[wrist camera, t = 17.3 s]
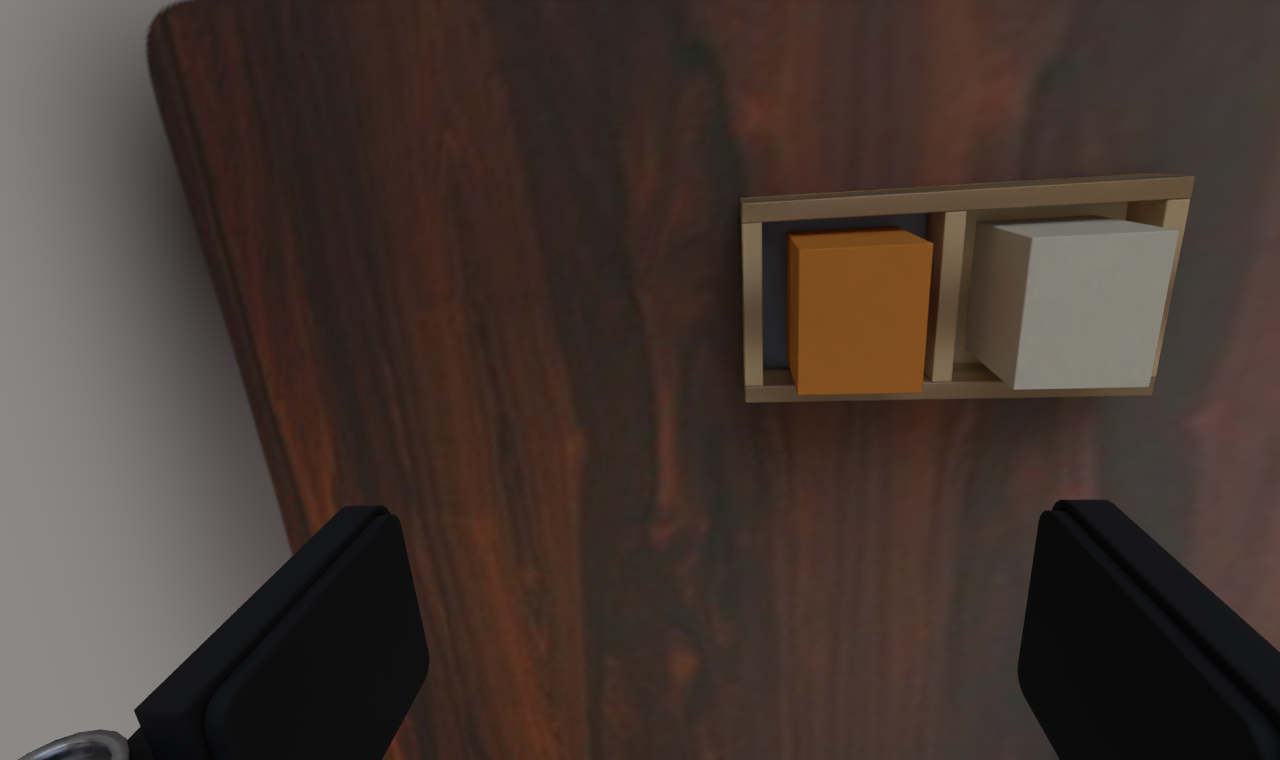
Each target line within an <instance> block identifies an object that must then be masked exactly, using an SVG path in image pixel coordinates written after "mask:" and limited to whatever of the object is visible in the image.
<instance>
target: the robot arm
mask: <svg viewBox="0 0 1280 760" xmlns="http://www.w3.org/2000/svg"><path fill="white" fill-rule="evenodd" d="M428 668H429V652H428V648H427V643H426V638H425V634H424V629H423V625H422V620H421V615H420V611H419V606H418V601H417V597H416V592H415V588H414V583H413V578H412V574H411V569H410V564H409V560H408V555H407V551H406V546H405V541H404V537H403V532H402V528H401V524H400V521H399V519H398V517H397V516H395V515H390V512H389V511H388V510H387V508H386V507H384V506H345V507H344V508H342V509H341V510H340V511H339V512H338V513H337V514H336V515H335V516H334V517H333V518H332V519H331V520H330V521H329V522H327V523H326V524H325V525H324V526H323V527H322V528H321V529H320V530H319V531H318V532H317V533H316V534H315V535H314V536H313V537H312V538H311V539H310V540H309V541H308V542H307V543H306V544H305V545H304V546H303V547H302V548H301V549H300V550H299V551H298V552H297V553H296V554H295V555H293V556H292V557H291V558H290V559H289V560H288V561H287V562H286V563H285V564H284V565H283V566H282V567H281V568H280V569H279V570H278V571H277V572H276V573H275V574H274V575H273V576H272V577H271V578H270V579H269V580H268V581H267V582H266V583H265V584H264V585H263V586H262V587H260V589H258V590H257V591H256V592H255V593H254V594H253V595H252V596H251V597H250V598H249V599H248V600H247V601H246V602H245V603H244V604H243V605H242V606H241V607H240V608H239V609H238V610H237V611H236V612H235V613H234V614H233V615H232V616H231V617H230V618H229V619H228V620H226V622H225V623H223V624H222V625H221V626H220V627H219V628H218V629H217V630H216V631H215V632H214V633H213V634H212V635H211V636H210V637H209V638H208V639H207V640H206V641H205V642H204V643H203V644H202V645H201V646H200V647H199V648H198V649H197V650H196V651H195V652H193V653H192V654H191V655H190V656H189V658H187V659H186V660H185V661H184V662H183V663H182V664H181V665H180V666H179V667H178V668H177V669H176V670H175V671H174V672H173V673H172V674H171V675H170V676H169V677H168V678H167V679H166V680H165V681H164V682H163V683H162V684H161V685H159V687H157V688H156V689H155V690H154V691H153V692H152V693H151V694H150V695H149V696H148V697H147V698H146V699H145V700H144V701H143V702H142V703H141V704H140V705H139V706H138V707H137V708H136V709H135V710H134V711H135V714H136V716H137V719H138V721H139V724H140V726H141V727H140V728H139V729H138V730H137V731H136V732H135V733H134V734H133V735H132V736H131V737H130V738H129V739H128V740H127V739H126V738H125V737H123V736H122V735H120V734H119V733H118V732H115V731H108V730H94V731H87V732H80V733H76V734H74V735H70V736H68V737H64V738H61V739H58V740H55V741H53V742H51V743H49V744H47V745H44V746H42V747H40V748H38V749H36V750H34V751H32V752H30V753H28V754H26V755H25V756H23V757H22V758H20V759H18V760H382V758H383V757H384V755H385V753H386V751H387V749H388V747H389V746H390V744H391V742H392V740H393V738H394V736H395V734H396V733H397V731H398V729H399V727H400V725H401V723H402V722H403V720H404V718H405V716H406V714H407V712H408V711H409V709H410V707H411V705H412V703H413V701H414V699H415V698H416V696H417V694H418V692H419V690H420V688H421V687H422V685H423V683H424V681H425V679H426V676H427V673H428ZM1018 678H1019V683H1020V687H1021V690H1022V693H1023V695H1024V697H1025V699H1026V701H1027V702H1028V704H1029V706H1030V708H1031V709H1032V711H1033V713H1034V715H1035V716H1036V718H1037V720H1038V722H1039V724H1040V725H1041V727H1042V729H1043V731H1044V732H1045V734H1046V736H1047V738H1048V739H1049V741H1050V743H1051V745H1052V747H1053V748H1054V750H1055V752H1056V754H1057V755H1058V757H1059V759H1060V760H1280V652H1279V651H1278V650H1277V649H1275V648H1274V647H1273V646H1272V645H1271V644H1270V643H1269V642H1268V641H1266V640H1265V639H1264V638H1263V637H1262V636H1261V635H1260V634H1259V633H1257V632H1256V631H1255V630H1254V629H1253V628H1252V627H1251V626H1250V625H1249V624H1247V623H1246V622H1245V621H1244V620H1243V619H1242V618H1241V617H1240V616H1238V615H1237V614H1236V613H1235V612H1234V611H1233V610H1232V609H1231V608H1229V607H1228V606H1227V605H1226V604H1225V603H1224V602H1223V601H1222V600H1221V599H1219V598H1218V597H1217V596H1216V595H1215V594H1214V593H1213V592H1212V591H1210V590H1209V589H1208V588H1207V587H1206V586H1205V585H1204V584H1203V583H1201V582H1200V581H1199V580H1198V579H1197V578H1196V577H1195V576H1194V575H1193V574H1191V573H1190V572H1189V571H1188V570H1187V569H1186V568H1185V567H1184V566H1182V565H1181V564H1180V563H1179V562H1178V561H1177V560H1176V559H1175V558H1173V557H1172V556H1171V555H1170V554H1169V553H1168V552H1167V551H1166V550H1165V549H1163V548H1162V547H1161V546H1160V545H1159V544H1158V543H1157V542H1156V541H1154V540H1153V539H1152V538H1151V537H1150V536H1149V535H1148V534H1147V533H1146V532H1144V531H1143V530H1142V529H1141V528H1140V527H1139V526H1138V525H1137V524H1135V523H1134V522H1133V521H1132V520H1131V519H1130V518H1129V517H1128V516H1126V515H1125V514H1124V513H1123V512H1122V511H1121V510H1120V509H1119V508H1118V507H1116V506H1115V505H1114V504H1113V503H1111V502H1110V501H1108V500H1059V501H1058V502H1056V503H1055V505H1054V507H1053V509H1052V511H1044V512H1043V513H1042V514H1041V516H1040V519H1039V524H1038V531H1037V538H1036V545H1035V552H1034V559H1033V566H1032V572H1031V579H1030V586H1029V593H1028V600H1027V607H1026V614H1025V620H1024V627H1023V634H1022V641H1021V648H1020V655H1019V662H1018Z"/></svg>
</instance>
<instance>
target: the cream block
mask: <svg viewBox="0 0 1280 760" xmlns="http://www.w3.org/2000/svg"><path fill="white" fill-rule="evenodd" d="M1178 234H1179V231H1178V230H1174V229H1168V228H1163V227H1157V226H1152V225H1146V224H1141V223H1135V222H1130V221H1124V220H1119V219H1113V218H1108V217H1102V216H1097V215H1083V216H1065V217H1046V218H1027V219H1009V220H990V221H977V223H976V233H975V243H974V254H973V264H972V275H971V286H970V296H969V307H968V317H967V328H966V338H965V349H966V350H967V351H969V352H970V353H971V354H972V355H973V356H975V357H976V358H977V359H978V360H979V361H980V362H982V363H983V364H984V365H985V366H986V367H988V368H989V369H990V370H991V371H992V372H993V373H995V374H996V375H997V376H998V377H999V378H1000V379H1002V380H1003V381H1004V382H1005V383H1006V384H1008V385H1009V386H1010V387H1011V388H1012V389H1014V390H1032V389H1084V388H1136V387H1149V384H1150V379H1151V374H1152V369H1153V363H1154V358H1155V353H1156V348H1157V343H1158V338H1159V332H1160V327H1161V322H1162V317H1163V312H1164V306H1165V301H1166V296H1167V291H1168V286H1169V280H1170V275H1171V270H1172V265H1173V260H1174V255H1175V249H1176V244H1177V239H1178Z"/></svg>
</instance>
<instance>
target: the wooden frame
mask: <svg viewBox="0 0 1280 760" xmlns="http://www.w3.org/2000/svg"><path fill="white" fill-rule="evenodd" d="M1194 180H1195V176H1187V175H1170V174H1152V173H1138V174H1121V175H1105V176H1089V177H1073V178H1056V179H1040V180H1024V181H1008V182H992V183H975V184H959V185H943V186H927V187H910V188H894V189H878V190H862V191H846V192H829V193H813V194H797V195H781V196H764V197H748V198H741V200H740V204H741V258H742V312H743V366H744V391H745V402H747V403H759V402H816V401H873V400H929V399H986V398H1043V397H1099V396H1150V395H1152V393H1153V388H1154V383H1155V378H1154V377H1155V376H1156V373H1157V368H1158V363H1159V358H1160V353H1161V347H1162V342H1163V337H1164V332H1165V327H1166V322H1167V317H1168V312H1169V306H1170V301H1171V296H1172V291H1173V286H1174V281H1175V276H1176V271H1177V265H1178V260H1179V255H1180V250H1181V245H1182V240H1183V235H1184V230H1185V225H1186V219H1187V214H1188V209H1189V204H1190V199H1188V198H1191V195H1192V190H1193V185H1194ZM1083 215H1097V216H1102V217H1108V218H1113V219H1119V220H1124V221H1130V222H1135V223H1141V224H1146V225H1152V226H1157V227H1163V228H1168V229H1174V230H1178V231H1179V234H1178V239H1177V244H1176V249H1175V255H1174V260H1173V265H1172V270H1171V275H1170V280H1169V286H1168V291H1167V296H1166V301H1165V306H1164V312H1163V317H1162V322H1161V327H1160V332H1159V338H1158V343H1157V348H1156V353H1155V358H1154V363H1153V369H1152V374H1151V379H1150V384H1149V387H1136V388H1084V389H1032V390H1014V389H1012V388H1011V387H1010V386H1009V385H1008V384H1006V383H1005V382H1004V381H1003V380H1002V379H1000V378H999V377H998V376H997V375H996V374H995V373H993V372H992V371H991V370H990V369H989V368H988V367H986V366H985V365H984V364H983V363H982V362H980V361H979V360H978V359H977V358H976V357H975V356H973V355H972V354H971V353H970V352H969V351H967V350H966V349H965V338H966V328H967V317H968V307H969V296H970V286H971V275H972V264H973V254H974V243H975V233H976V223H977V221H990V220H1009V219H1027V218H1046V217H1065V216H1083ZM884 226H897V227H899V228H901V229H903V230H905V231H908V232H910V233H912V234H914V235H916V236H918V237H920V238H923V239H925V240H927V241H929V242H931V243H933V256H932V269H931V283H930V296H929V310H928V323H927V336H926V350H925V363H924V376H923V390H922V393H896V394H843V395H798V394H797V391H796V387H795V384H794V380H793V376H792V373H791V369H790V366H789V362H788V358H787V355H786V243H787V232H791V231H809V230H828V229H846V228H865V227H884Z"/></svg>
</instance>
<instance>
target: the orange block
mask: <svg viewBox="0 0 1280 760" xmlns="http://www.w3.org/2000/svg"><path fill="white" fill-rule="evenodd" d="M932 256H933V243H931V242H929V241H927V240H925V239H923V238H920V237H918V236H916V235H914V234H912V233H910V232H908V231H905V230H903V229H901V228H899V227H897V226H884V227H865V228H846V229H828V230H809V231H791V232H787V243H786V355H787V358H788V362H789V366H790V369H791V373H792V376H793V380H794V384H795V387H796V391H797V394H798V395H843V394H896V393H922V390H923V376H924V363H925V350H926V336H927V323H928V310H929V296H930V283H931V269H932Z"/></svg>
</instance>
